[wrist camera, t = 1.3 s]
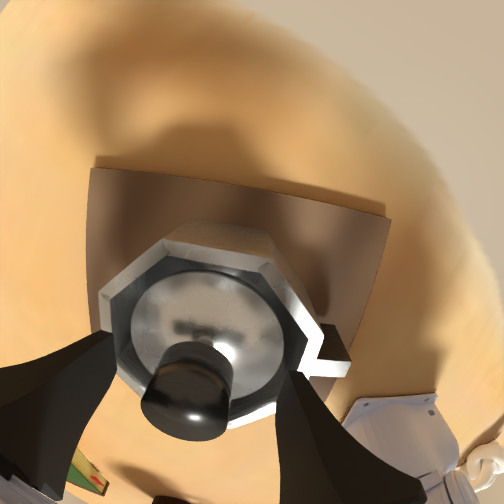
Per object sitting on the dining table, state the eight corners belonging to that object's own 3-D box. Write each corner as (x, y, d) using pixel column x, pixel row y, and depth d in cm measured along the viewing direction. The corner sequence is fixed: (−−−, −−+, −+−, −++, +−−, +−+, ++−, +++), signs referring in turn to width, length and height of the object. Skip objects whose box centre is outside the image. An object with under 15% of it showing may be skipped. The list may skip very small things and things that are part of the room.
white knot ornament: (508, 427, 24) (526, 454, 16) (468, 466, 27) (482, 493, 19) (488, 431, 23) (509, 464, 15) (442, 474, 26) (456, 506, 18)
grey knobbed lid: (299, 284, 12) (323, 353, 7) (265, 401, 13) (266, 475, 9) (136, 254, 11) (72, 301, 7) (138, 376, 13) (105, 439, 9)
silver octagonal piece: (351, 247, 15) (388, 279, 10) (306, 381, 17) (317, 435, 13) (144, 210, 15) (97, 227, 10) (140, 351, 17) (112, 398, 12)
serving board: (385, 217, 15) (391, 219, 14) (323, 395, 19) (324, 402, 18) (97, 167, 15) (90, 167, 14) (99, 351, 18) (95, 357, 18)
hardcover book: (21, 440, 28) (13, 451, 25) (-26, 370, 23) (-37, 380, 20) (114, 482, 27) (107, 498, 24) (58, 411, 22) (45, 430, 19)
